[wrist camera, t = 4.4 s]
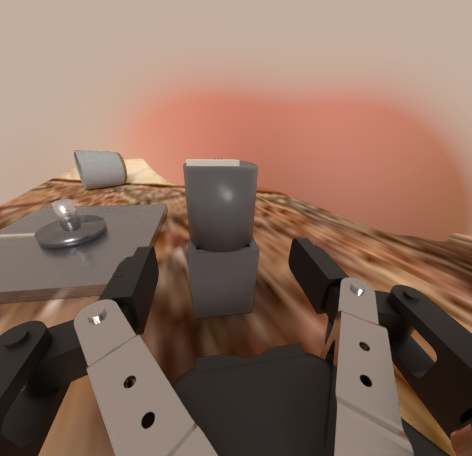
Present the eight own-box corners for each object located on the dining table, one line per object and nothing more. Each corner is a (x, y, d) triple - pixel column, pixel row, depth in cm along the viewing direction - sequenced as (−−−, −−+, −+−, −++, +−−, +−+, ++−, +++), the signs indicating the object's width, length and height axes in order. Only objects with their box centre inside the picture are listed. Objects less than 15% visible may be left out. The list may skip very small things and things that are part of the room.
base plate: (167, 211, 33) (163, 180, 30) (136, 292, 17) (121, 241, 15) (46, 214, 30) (30, 180, 28) (-122, 314, 15) (-192, 257, 12)
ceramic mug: (132, 186, 44) (123, 150, 41) (88, 194, 39) (75, 152, 36) (117, 178, 51) (109, 146, 47) (79, 183, 46) (67, 147, 42)
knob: (242, 273, 20) (249, 155, 14) (252, 312, 16) (267, 167, 10) (195, 277, 19) (185, 154, 14) (194, 318, 15) (178, 167, 10)
